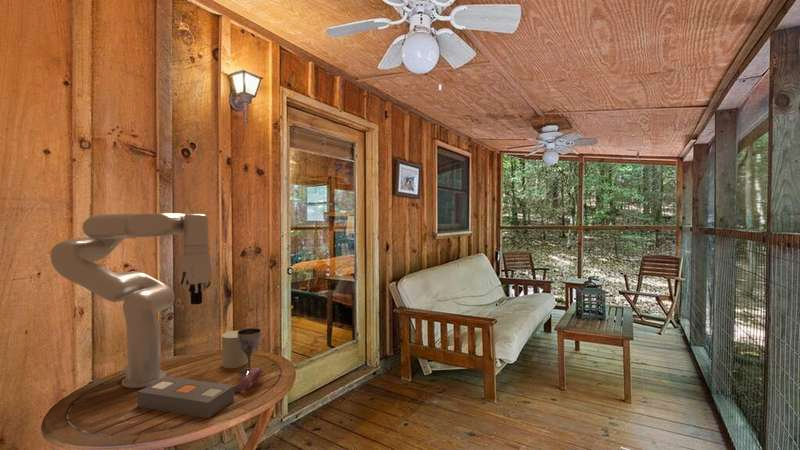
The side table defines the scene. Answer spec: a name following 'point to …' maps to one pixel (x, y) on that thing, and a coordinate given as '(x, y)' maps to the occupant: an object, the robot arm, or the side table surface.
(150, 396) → the button panel
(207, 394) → the button sage
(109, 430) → the side table surface
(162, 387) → the button cream
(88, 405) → the side table surface
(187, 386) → the button orange
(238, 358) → the can
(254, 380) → the video game controller
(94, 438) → the side table surface
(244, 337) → the wine glass
